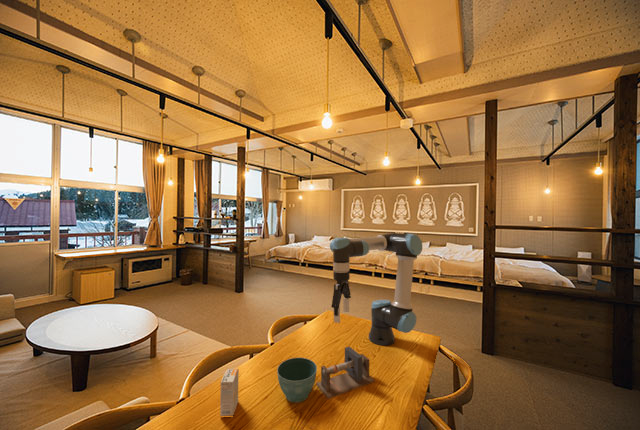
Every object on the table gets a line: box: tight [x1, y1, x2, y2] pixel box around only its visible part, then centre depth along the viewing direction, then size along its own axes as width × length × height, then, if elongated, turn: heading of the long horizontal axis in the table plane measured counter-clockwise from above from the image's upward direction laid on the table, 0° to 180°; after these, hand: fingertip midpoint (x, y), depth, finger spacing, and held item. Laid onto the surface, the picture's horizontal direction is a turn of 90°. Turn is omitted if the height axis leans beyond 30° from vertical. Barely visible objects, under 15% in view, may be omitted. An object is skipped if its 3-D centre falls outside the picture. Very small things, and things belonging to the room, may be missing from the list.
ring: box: [344, 346, 362, 382], centre depth 113 cm, size 2×10×10 cm, turn 28°
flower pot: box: [276, 357, 318, 404], centre depth 103 cm, size 16×16×11 cm
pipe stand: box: [316, 353, 376, 400], centre depth 111 cm, size 24×10×9 cm, turn 118°
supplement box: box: [219, 368, 240, 417], centre depth 95 cm, size 8×5×13 cm, turn 5°
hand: (341, 316), depth 117 cm, fingers open, 13 cm apart
